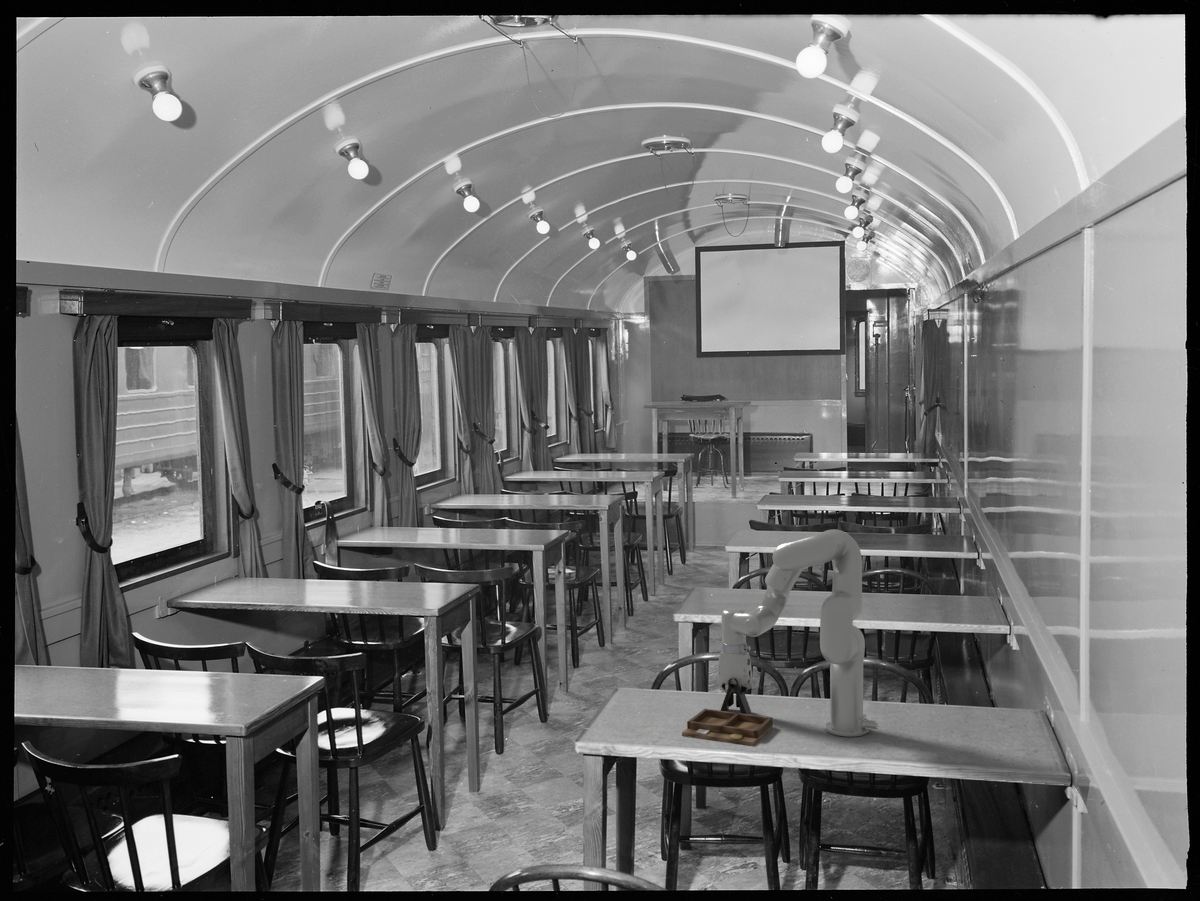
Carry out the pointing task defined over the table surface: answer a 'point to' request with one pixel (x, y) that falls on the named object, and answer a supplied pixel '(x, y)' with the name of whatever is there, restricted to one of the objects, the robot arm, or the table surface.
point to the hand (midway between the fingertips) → (734, 705)
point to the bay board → (728, 726)
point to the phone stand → (740, 697)
